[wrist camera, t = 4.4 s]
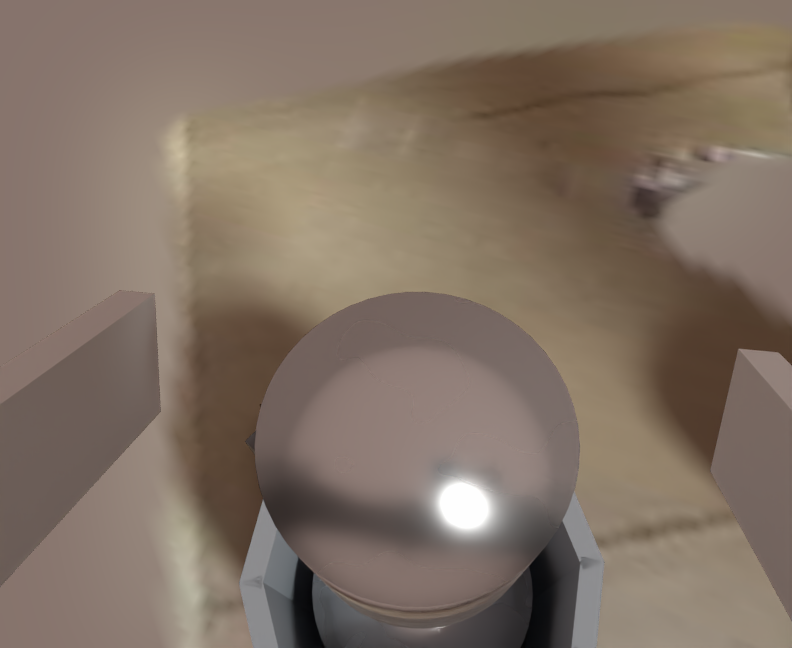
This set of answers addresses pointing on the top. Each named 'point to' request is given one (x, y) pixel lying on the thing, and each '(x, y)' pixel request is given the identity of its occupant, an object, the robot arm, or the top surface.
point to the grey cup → (550, 572)
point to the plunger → (418, 470)
